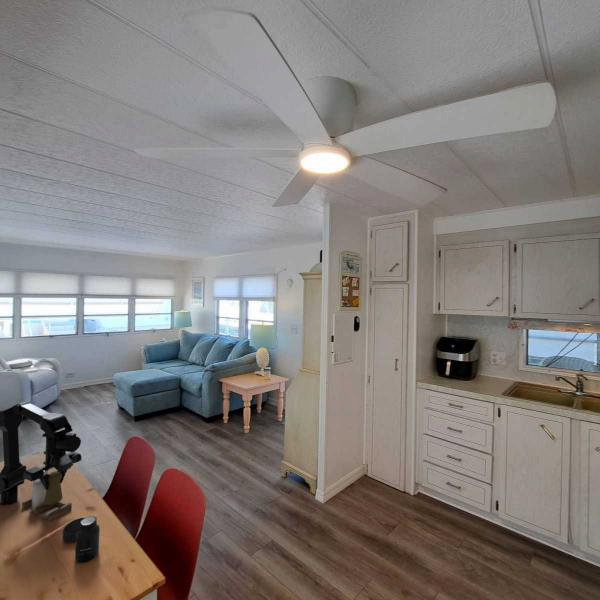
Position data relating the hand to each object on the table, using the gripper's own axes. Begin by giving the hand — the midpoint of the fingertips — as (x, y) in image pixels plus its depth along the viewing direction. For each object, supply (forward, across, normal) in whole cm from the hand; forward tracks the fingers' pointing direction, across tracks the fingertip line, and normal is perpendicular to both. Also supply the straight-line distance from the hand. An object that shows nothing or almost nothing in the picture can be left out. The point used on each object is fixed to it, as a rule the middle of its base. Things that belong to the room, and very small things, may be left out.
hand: (53, 486), depth 133 cm
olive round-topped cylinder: (+6, 0, 0) cm, 6 cm away
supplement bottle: (+11, -8, -34) cm, 37 cm away
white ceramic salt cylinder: (+10, 0, +8) cm, 13 cm away
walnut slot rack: (+11, 0, +4) cm, 12 cm away
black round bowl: (+11, -4, -21) cm, 24 cm away
